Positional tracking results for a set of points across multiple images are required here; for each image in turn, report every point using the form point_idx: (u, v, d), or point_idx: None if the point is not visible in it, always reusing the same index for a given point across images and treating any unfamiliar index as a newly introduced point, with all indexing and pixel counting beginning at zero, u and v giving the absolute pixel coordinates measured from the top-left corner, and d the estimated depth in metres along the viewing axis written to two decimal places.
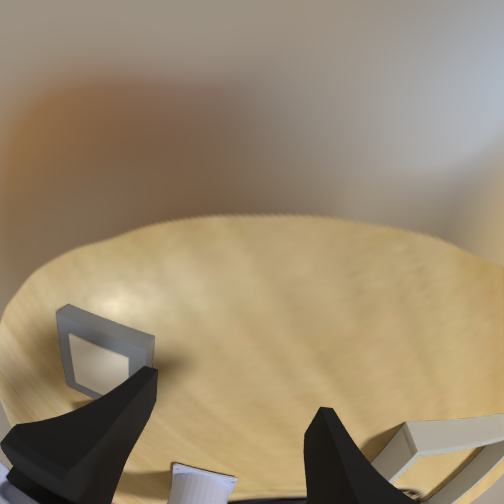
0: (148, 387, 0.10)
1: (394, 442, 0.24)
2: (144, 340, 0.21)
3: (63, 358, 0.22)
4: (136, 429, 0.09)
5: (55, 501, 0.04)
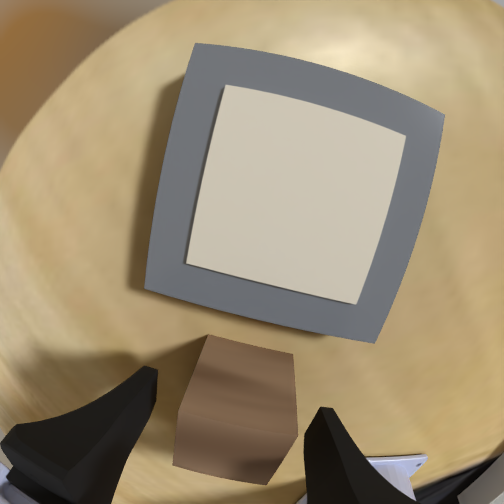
0: (148, 387, 0.10)
1: None
2: None
3: (164, 184, 0.09)
4: (137, 429, 0.09)
5: (55, 501, 0.04)
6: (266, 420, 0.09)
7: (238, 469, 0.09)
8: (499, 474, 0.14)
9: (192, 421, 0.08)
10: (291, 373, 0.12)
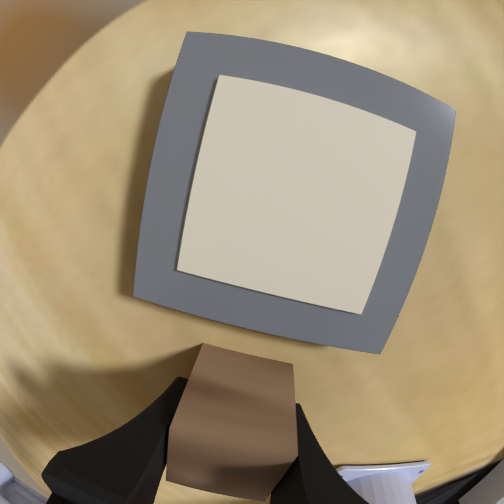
0: None
1: None
2: None
3: (152, 184, 0.08)
4: None
5: None
6: (263, 438, 0.08)
7: (235, 486, 0.08)
8: (501, 478, 0.13)
9: (184, 439, 0.07)
10: (291, 386, 0.11)
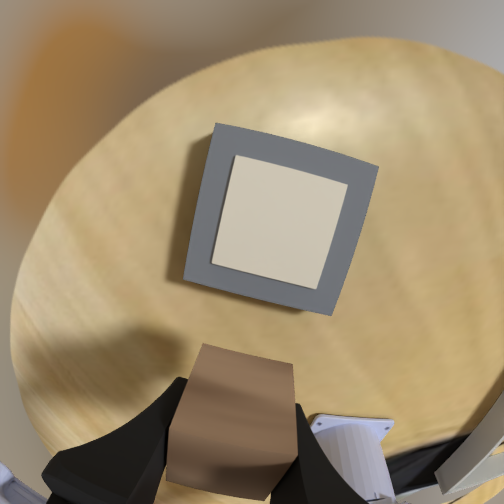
0: None
1: None
2: None
3: (198, 215, 0.16)
4: None
5: None
6: (263, 438, 0.08)
7: (235, 486, 0.08)
8: (470, 451, 0.21)
9: (184, 440, 0.07)
10: (291, 386, 0.11)
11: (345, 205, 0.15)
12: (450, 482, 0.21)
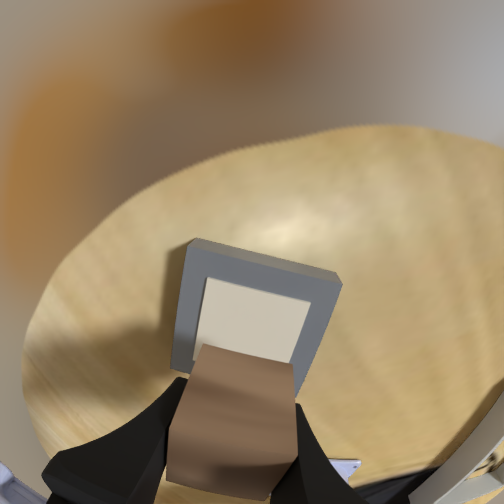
0: None
1: None
2: (331, 276, 0.17)
3: (178, 323, 0.18)
4: None
5: None
6: (263, 438, 0.08)
7: (235, 486, 0.08)
8: (439, 481, 0.23)
9: (184, 439, 0.07)
10: (291, 386, 0.11)
11: (308, 319, 0.17)
12: None
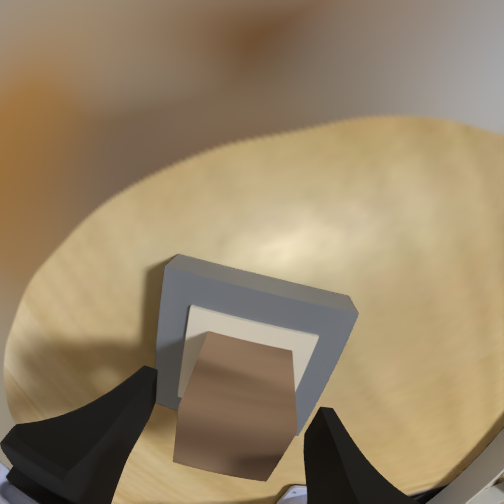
0: (148, 387, 0.10)
1: None
2: (344, 302, 0.14)
3: (159, 356, 0.14)
4: (136, 429, 0.09)
5: (55, 501, 0.04)
6: (265, 415, 0.09)
7: (238, 466, 0.09)
8: (446, 500, 0.19)
9: (192, 417, 0.08)
10: (290, 370, 0.12)
11: (315, 354, 0.13)
12: None
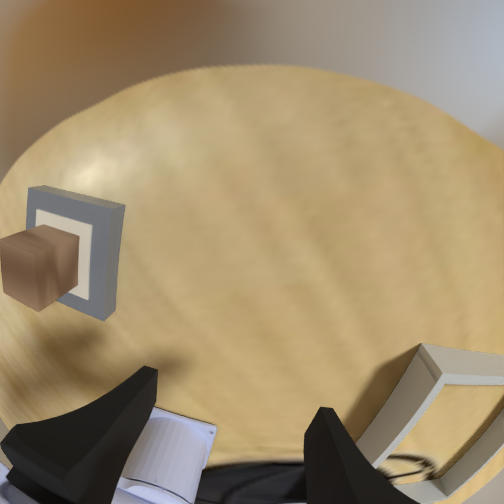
0: (148, 387, 0.10)
1: (409, 373, 0.21)
2: (112, 205, 0.19)
3: None
4: (136, 429, 0.09)
5: (55, 501, 0.04)
6: (29, 248, 0.14)
7: (24, 291, 0.15)
8: None
9: (3, 246, 0.14)
10: (66, 240, 0.17)
11: (93, 240, 0.19)
12: None
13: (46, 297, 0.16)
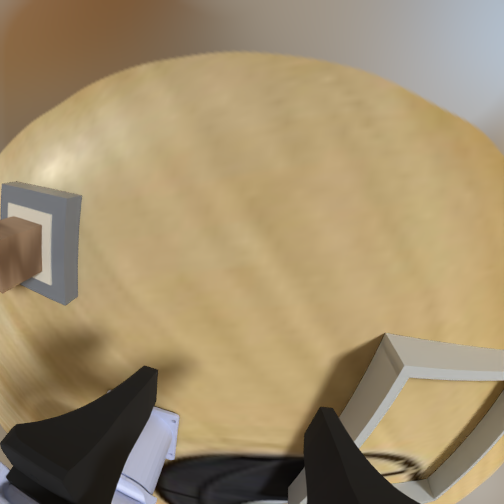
0: (148, 387, 0.10)
1: (373, 365, 0.21)
2: (69, 195, 0.19)
3: None
4: (136, 429, 0.09)
5: (55, 501, 0.04)
6: None
7: None
8: None
9: None
10: (28, 228, 0.17)
11: (53, 228, 0.19)
12: (293, 502, 0.25)
13: (10, 280, 0.16)
